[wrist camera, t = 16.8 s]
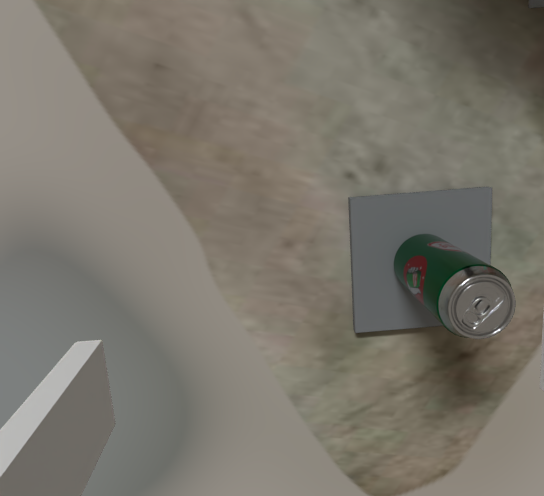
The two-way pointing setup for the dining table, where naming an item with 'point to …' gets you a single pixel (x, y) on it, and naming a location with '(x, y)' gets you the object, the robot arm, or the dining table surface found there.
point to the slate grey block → (536, 3)
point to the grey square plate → (390, 236)
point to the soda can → (455, 286)
